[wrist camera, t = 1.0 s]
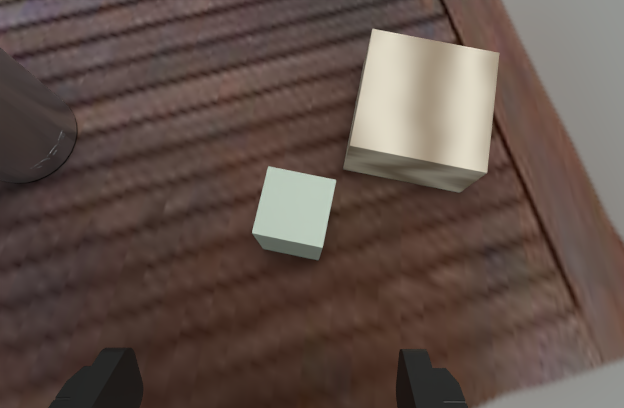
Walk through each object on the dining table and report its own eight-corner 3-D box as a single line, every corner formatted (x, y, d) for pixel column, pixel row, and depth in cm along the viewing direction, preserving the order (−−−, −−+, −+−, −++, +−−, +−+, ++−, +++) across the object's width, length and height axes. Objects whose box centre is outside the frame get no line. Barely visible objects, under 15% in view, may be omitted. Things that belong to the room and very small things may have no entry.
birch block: (342, 170, 38) (349, 145, 32) (362, 68, 41) (372, 28, 35) (458, 193, 38) (486, 172, 32) (471, 89, 40) (499, 52, 34)
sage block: (263, 248, 36) (251, 233, 28) (275, 195, 37) (268, 166, 29) (318, 260, 36) (322, 247, 28) (329, 206, 37) (336, 179, 29)
